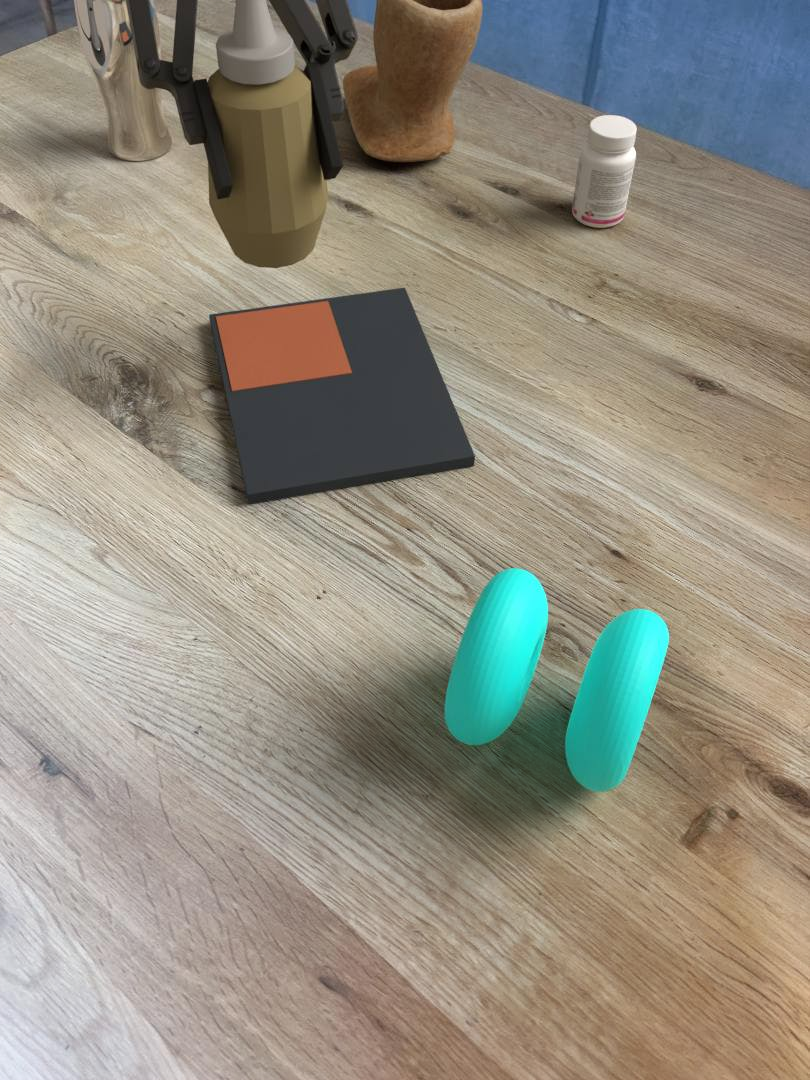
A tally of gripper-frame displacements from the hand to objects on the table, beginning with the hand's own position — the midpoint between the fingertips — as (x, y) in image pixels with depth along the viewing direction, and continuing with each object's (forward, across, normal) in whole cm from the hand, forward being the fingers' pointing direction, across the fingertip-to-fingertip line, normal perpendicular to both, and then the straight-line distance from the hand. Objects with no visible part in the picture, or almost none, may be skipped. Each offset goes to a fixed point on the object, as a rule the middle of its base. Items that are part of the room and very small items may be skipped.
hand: (280, 182), depth 67 cm
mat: (+13, -2, -11) cm, 17 cm away
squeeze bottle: (+3, 0, -8) cm, 8 cm away
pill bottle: (+3, -32, -21) cm, 39 cm away
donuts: (+35, -5, +12) cm, 38 cm away
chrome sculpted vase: (-15, +4, -39) cm, 42 cm away
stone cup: (-11, -21, -35) cm, 42 cm away
